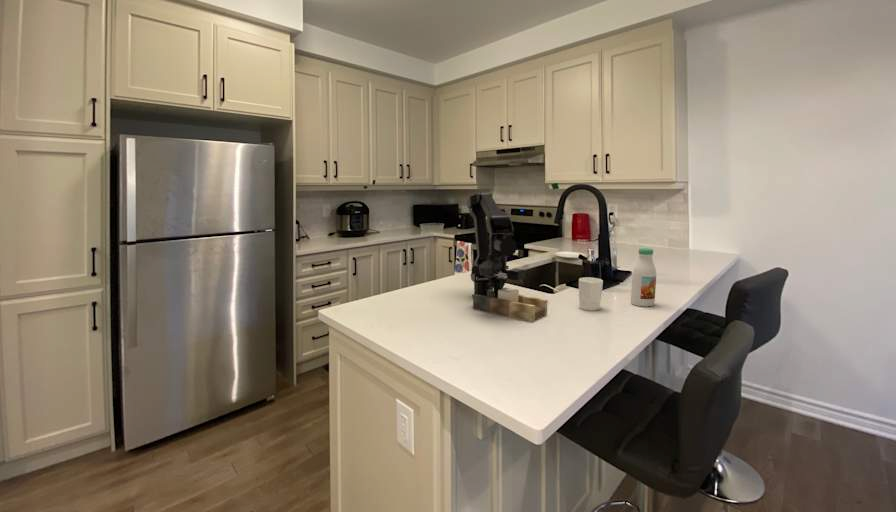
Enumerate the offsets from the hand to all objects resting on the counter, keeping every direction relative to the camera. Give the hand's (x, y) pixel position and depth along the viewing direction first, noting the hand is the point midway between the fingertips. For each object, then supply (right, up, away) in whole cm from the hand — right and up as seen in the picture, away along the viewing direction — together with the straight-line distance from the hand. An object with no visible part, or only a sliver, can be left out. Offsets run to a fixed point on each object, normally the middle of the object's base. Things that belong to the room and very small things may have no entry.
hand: (497, 296), depth 145 cm
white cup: (+32, -4, +2) cm, 32 cm away
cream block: (+3, -2, -2) cm, 5 cm away
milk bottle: (+52, -4, +5) cm, 53 cm away
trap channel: (+4, -5, -2) cm, 7 cm away
